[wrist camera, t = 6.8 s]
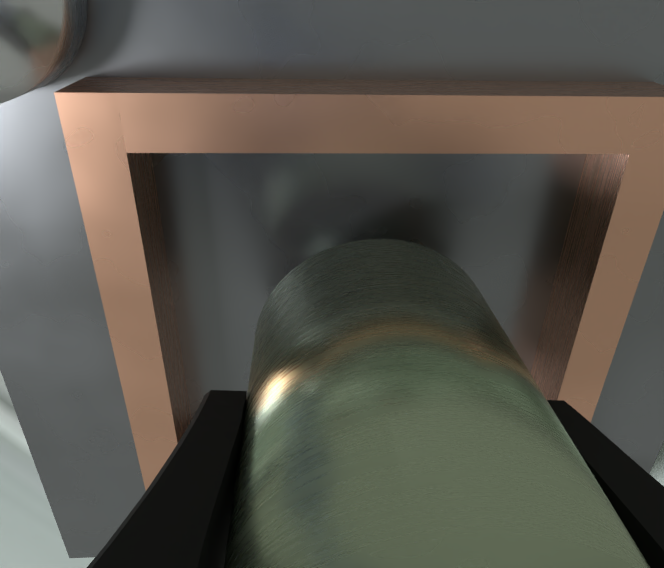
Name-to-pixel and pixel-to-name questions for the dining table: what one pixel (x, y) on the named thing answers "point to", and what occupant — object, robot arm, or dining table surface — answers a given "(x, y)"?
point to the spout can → (405, 430)
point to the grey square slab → (313, 202)
